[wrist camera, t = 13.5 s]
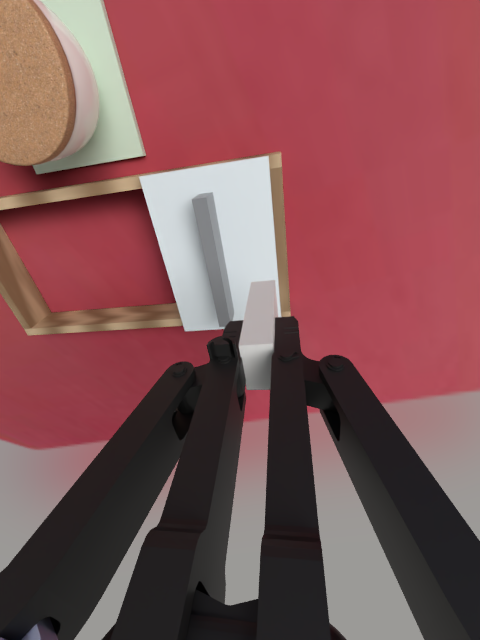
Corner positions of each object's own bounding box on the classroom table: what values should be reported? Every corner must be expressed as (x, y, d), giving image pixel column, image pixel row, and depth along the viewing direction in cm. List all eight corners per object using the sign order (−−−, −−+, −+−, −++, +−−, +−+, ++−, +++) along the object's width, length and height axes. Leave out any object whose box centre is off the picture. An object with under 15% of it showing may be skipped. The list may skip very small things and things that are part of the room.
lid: (186, 327, 33) (178, 345, 30) (142, 175, 25) (125, 180, 22) (281, 321, 31) (282, 339, 28) (268, 155, 23) (267, 157, 20)
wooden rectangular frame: (48, 319, 40) (28, 335, 37) (-21, 200, 32) (-56, 207, 29) (289, 301, 35) (290, 319, 31) (280, 151, 26) (281, 153, 23)
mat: (40, 173, 30) (36, 174, 29) (-33, 13, 24) (-40, 11, 23) (146, 155, 28) (143, 155, 27) (96, -26, 21) (91, -30, 21)
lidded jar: (138, 147, 27) (81, 151, 19) (43, 169, 29) (-44, 180, 21) (87, -16, 21) (-23, -105, 14) (-26, 25, 23) (-179, -32, 16)
